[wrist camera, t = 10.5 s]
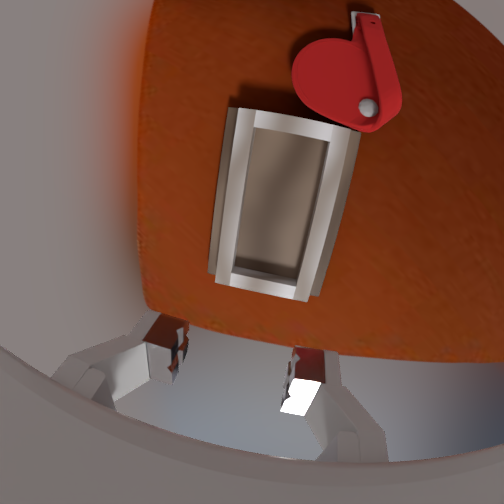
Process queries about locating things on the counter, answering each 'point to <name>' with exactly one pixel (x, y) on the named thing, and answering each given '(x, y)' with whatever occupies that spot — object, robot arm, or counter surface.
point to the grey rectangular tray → (279, 201)
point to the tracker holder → (350, 76)
